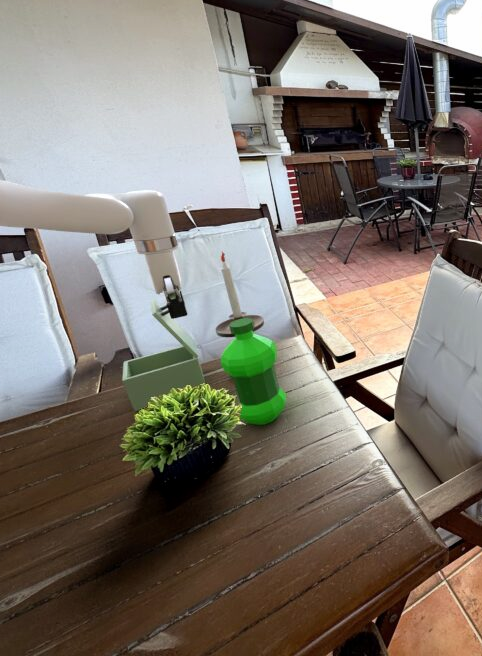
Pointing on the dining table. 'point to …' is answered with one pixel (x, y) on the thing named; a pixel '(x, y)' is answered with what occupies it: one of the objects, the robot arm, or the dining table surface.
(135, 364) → the chest
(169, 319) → the lid
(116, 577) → the dining table surface
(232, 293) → the candlestick
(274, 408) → the plastic bottle
